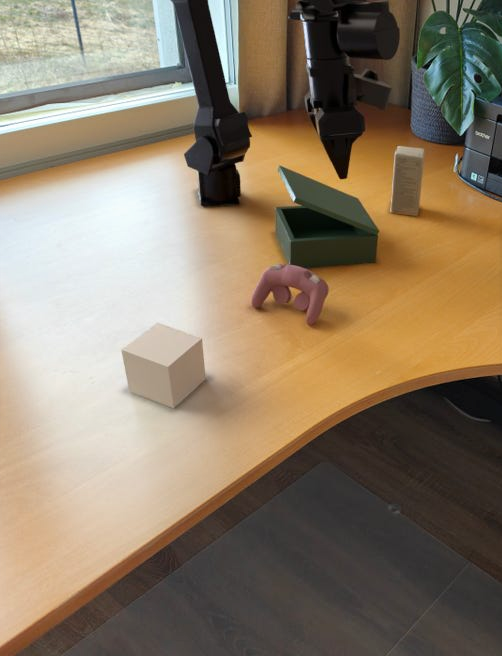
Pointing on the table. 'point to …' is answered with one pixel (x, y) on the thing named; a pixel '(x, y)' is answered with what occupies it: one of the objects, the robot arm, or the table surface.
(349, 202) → the lid
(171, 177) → the table surface
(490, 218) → the table surface
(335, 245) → the toy chest
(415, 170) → the box
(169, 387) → the beige cube block
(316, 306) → the video game controller
